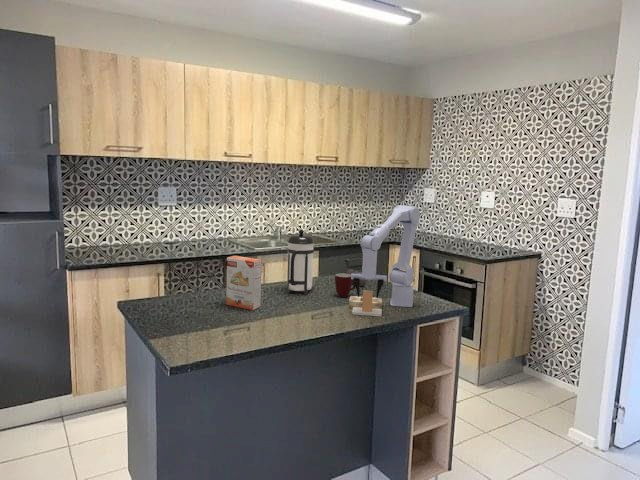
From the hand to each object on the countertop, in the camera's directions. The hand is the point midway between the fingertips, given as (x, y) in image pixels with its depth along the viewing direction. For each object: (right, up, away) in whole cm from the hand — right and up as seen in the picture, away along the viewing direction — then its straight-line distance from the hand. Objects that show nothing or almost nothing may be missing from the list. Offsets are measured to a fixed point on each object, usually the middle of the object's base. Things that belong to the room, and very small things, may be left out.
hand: (367, 296), depth 197 cm
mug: (-8, -3, +26) cm, 28 cm away
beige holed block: (0, -5, +10) cm, 12 cm away
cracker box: (-52, -5, +4) cm, 53 cm away
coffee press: (-30, -2, +30) cm, 42 cm away
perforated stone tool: (-1, 0, +49) cm, 49 cm away
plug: (0, -6, +1) cm, 6 cm away
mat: (0, -7, +1) cm, 7 cm away
